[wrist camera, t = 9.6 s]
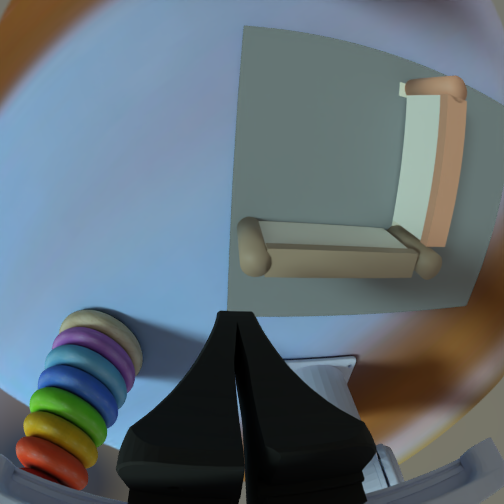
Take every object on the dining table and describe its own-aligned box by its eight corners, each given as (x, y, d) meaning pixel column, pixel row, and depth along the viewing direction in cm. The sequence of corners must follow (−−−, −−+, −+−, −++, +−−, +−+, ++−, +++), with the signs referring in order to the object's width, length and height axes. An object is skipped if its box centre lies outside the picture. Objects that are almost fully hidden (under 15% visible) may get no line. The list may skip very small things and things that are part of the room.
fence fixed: (399, 245, 21) (436, 279, 16) (235, 238, 20) (239, 279, 15) (404, 223, 21) (445, 253, 16) (237, 212, 19) (241, 246, 14)
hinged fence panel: (407, 220, 20) (444, 246, 16) (390, 219, 20) (426, 246, 15) (423, 82, 16) (467, 80, 11) (405, 76, 15) (448, 72, 11)
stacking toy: (145, 315, 22) (86, 558, 5) (145, 379, 25) (115, 566, 8) (58, 296, 21) (-47, 488, 4) (71, 361, 24) (11, 526, 7)
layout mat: (464, 303, 25) (466, 306, 24) (227, 313, 23) (227, 317, 22) (509, 110, 17) (513, 111, 16) (243, 27, 14) (243, 25, 14)
